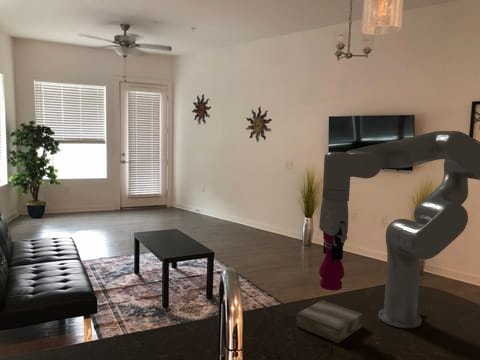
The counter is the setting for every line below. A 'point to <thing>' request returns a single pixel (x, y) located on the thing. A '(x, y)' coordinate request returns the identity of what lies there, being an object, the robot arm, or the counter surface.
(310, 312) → the grey ridged block
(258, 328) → the counter surface
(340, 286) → the pepper mill
